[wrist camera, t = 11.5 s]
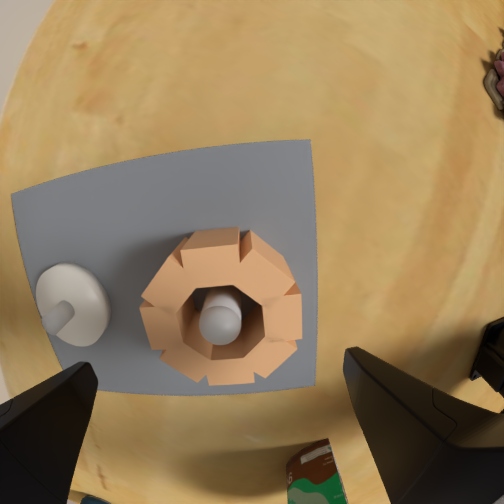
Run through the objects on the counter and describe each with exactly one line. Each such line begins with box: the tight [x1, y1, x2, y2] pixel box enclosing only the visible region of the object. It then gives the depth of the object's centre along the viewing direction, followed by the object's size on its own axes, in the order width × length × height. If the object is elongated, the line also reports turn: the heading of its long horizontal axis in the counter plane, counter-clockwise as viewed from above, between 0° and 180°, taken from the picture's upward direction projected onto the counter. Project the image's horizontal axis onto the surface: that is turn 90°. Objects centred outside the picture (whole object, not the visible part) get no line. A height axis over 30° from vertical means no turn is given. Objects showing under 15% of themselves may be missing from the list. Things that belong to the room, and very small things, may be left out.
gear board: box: [11, 140, 318, 396], centre depth 13 cm, size 18×15×5 cm
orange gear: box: [139, 227, 302, 386], centre depth 13 cm, size 7×7×4 cm
